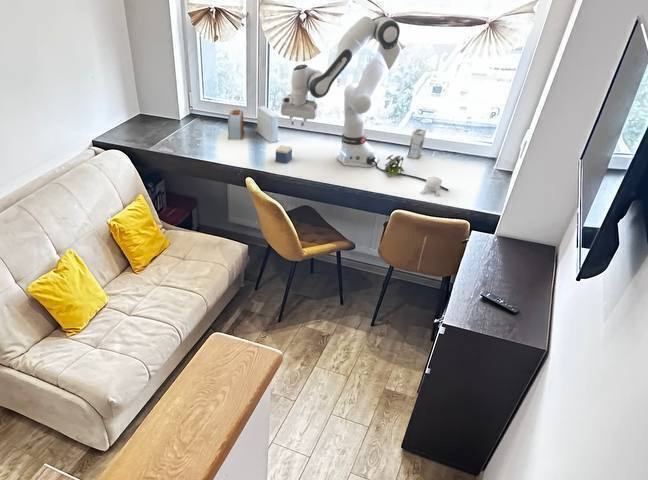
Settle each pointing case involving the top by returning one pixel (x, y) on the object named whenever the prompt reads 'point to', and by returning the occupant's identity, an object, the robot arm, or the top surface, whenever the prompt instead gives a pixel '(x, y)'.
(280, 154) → the dark blue cube
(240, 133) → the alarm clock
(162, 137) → the top surface
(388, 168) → the passion flower
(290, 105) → the robot arm
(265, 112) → the skincare box
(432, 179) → the white lumpy piece
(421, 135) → the syrup box
